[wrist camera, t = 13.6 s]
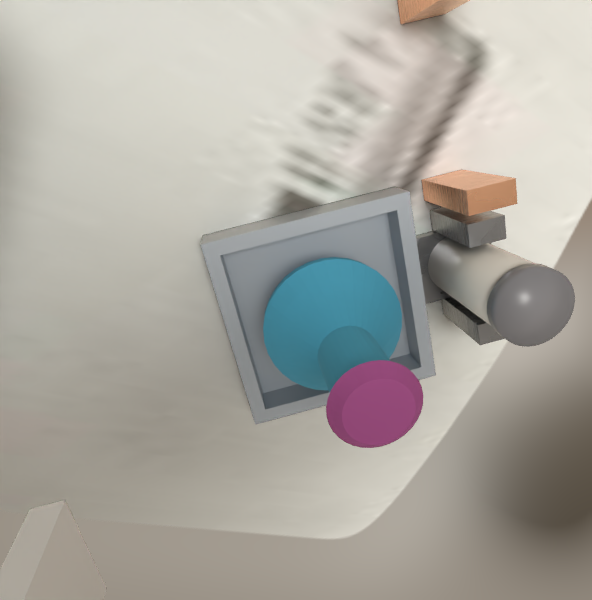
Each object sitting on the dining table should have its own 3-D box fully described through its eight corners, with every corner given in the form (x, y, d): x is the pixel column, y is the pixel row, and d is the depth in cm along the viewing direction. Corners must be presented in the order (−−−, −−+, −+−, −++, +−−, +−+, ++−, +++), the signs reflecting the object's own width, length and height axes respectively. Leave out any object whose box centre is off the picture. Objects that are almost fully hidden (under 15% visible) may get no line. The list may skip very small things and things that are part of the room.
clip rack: (424, 319, 38) (464, 357, 32) (350, -181, 27) (388, -278, 21) (491, 301, 39) (545, 335, 32) (444, -201, 28) (511, -305, 21)
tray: (253, 403, 39) (255, 424, 36) (202, 235, 34) (200, 244, 31) (421, 357, 39) (436, 375, 37) (394, 186, 35) (409, 191, 32)
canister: (430, 298, 37) (499, 355, 28) (422, 241, 35) (492, 280, 26) (488, 283, 37) (575, 334, 28) (483, 225, 36) (573, 258, 26)
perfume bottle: (374, 232, 35) (472, 298, 21) (387, 347, 38) (479, 472, 24) (247, 256, 34) (260, 341, 20) (271, 371, 37) (296, 514, 23)
